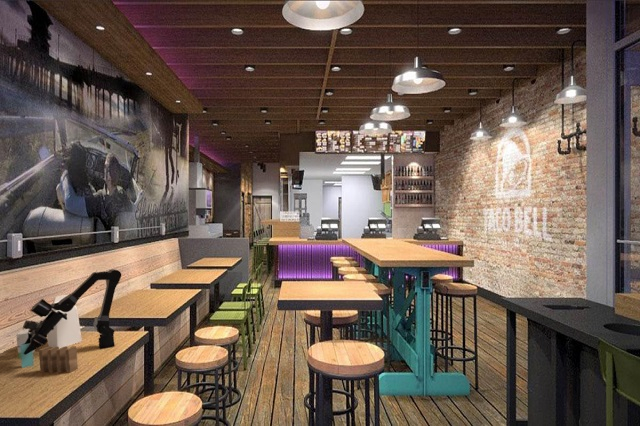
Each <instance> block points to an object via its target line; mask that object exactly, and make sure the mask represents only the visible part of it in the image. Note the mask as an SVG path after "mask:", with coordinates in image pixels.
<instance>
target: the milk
mask: <svg viewBox="0 0 640 426" xmlns="http://www.w3.org/2000/svg"><path fill="white" fill-rule="evenodd" d="M68 295H69V294H61V295H57V296H54V297H53V300H52V303H51V304H55V303H58V302H59V301H60V300H62V299H63V298H64V297H66V296H68ZM76 305H77V304H75V306H74V307H73V308H72V310H70V311H69V312H63V311H61V310H55V309H53V308H52V310H54V311H55V312H57V311H60V312H61V313H63V314H65V313H66V314H67V320H65V319H64V318H62V319H61V320H60V321H59V322H58V323H57V324H56V326H55V327H54V329H53V330H51V331H50V332H49V333H48V335H47V340H48V342H47V347H50V348H53V347H59V349H60V348H62V347H64V346H67V347H68V346H72V345H74V344H75V343H76V344H78V342H79V343H82V342H83V340H82V335H81V334H82V333H81V332H82V331H81V324H80V318H79V309H78V307H77V306H76ZM50 313H51V312H50ZM50 313H49V314H50ZM49 314H48V315H49ZM48 315H47V316H48ZM81 341H82V342H81Z"/></svg>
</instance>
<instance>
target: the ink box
mask: <svg viewBox="0 0 640 426" xmlns="http://www.w3.org/2000/svg"><path fill="white" fill-rule="evenodd" d="M28 330H29V329H23V330H20V331H19V332H18V333H17V334H15V335H16V344H17V356H18V359H21V352H20V345H24V344H25V342H26V340H27V338H28ZM29 333H30V332H29ZM35 350H36V349H35ZM35 350H33V353H34V352H36V351H35Z"/></svg>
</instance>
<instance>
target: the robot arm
mask: <svg viewBox="0 0 640 426" xmlns="http://www.w3.org/2000/svg"><path fill="white" fill-rule="evenodd" d="M121 278H122V273H121V271H120V270H117V269H114V268H112V269H109V270H107V271H95V272H94V271H93V272H92V273H91V274H90V275H89V277H87V278H86V279H85V280H84V281H83V282H82V283H81V284H80V285H79V286H78V287H77V288H76V289H75V290H74V291H72V292H71V293H69V294H67V295H68V296H66V297H64V298H63V299H62V300H60V301H59V302H58V303H55V304H52V303H49V302H48V301H47V300H45V299H44V298H41V299H40V300H39V301H38V302H36V303H35V304H33V306H32V307H31V308H30V311H31V312H32V313H34V314H35V315H37V316H39V317H40V318H43V317H44V319H43V320H40V321H39V322H38V321H37V322H36V321H35V320H34V321H33V320H27V319H26V320H25V321H24V323H23V326H22V328H23V330H28V338H27V340H26V342H25V344H29V343H30V344H29V346H28V347H27V349H26V350H25V352H24V353H23V354H25V355H26V354H28V353H30V352H31V351H33V350H36V349H39V348H41V347H43V346H45V345H46V344H48V333H49V332H50V331H51V330H53V329H54V327H55V326H56V324H57V323H58V322H59V321H60V320H61V319H62V318H64V319H65V320H67V314H66V313H65V314H63V313H61V312H60V311H57V312H55V311H54V310H52V308H53V309H55V310H61V311H63V312H69V311H70V310H72V308H73V307H74V306H75V305H77V303H78V301H79V299H80V298H81V297H82V296H83V295H85V293H86V292H87V291H88V290H90V288H92V286H94V285H95V283H97V282H98V281H105V282H106V283H105V284H106V288H105V291H104V295H103V300H102V304H101V308H100V313H99V315H98V316H95V317H94V321H93V323H92V325H93V328H94V331H96V332H97V333H99V338H98V347H99V348H100V349H101V350H102V349H106V348H112V347H115V345H116V343H115V338H114V336H115V335H114V334H115V330H114V329H113V328H112V327H110V324H111V323H110V322H111V321H110V312H111V308H112V305H113V299H114V295H115V290H116V288H117V286H118V285H119V283H120V280H121ZM50 312H51V313H50ZM49 313H50V314H49ZM48 314H49V315H48ZM29 332H30V333H29Z"/></svg>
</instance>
